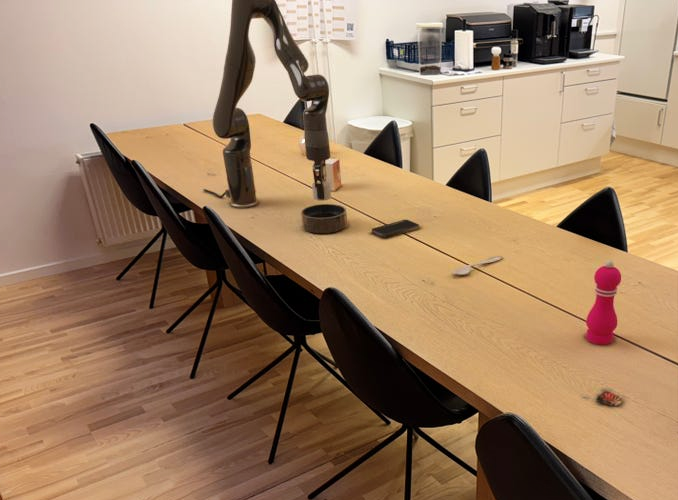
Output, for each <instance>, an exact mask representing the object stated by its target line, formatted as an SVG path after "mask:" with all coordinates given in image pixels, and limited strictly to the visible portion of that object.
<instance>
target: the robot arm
mask: <svg viewBox="0 0 678 500" xmlns="http://www.w3.org/2000/svg"><path fill="white" fill-rule="evenodd" d="M230 10H231V11H230V25H229V26H230V27H229V35H228V43H227V49H226V54H225V57H224V58H225V59H224V65H223V71H222V79H221V84H220V88H219V94H218V97H217V101H216V104H215V108H214V111H213V114H212V128H213V129H212V130H213V131H214V133H215V135H216V136H217V137H218V138H220V139H222V140H228V139H230V140H229V142H228V143H227V144H226V146H224V148H223V149H222V157H223V162H224V169H225V174H226V175H225V176H226V183H227V189H225V190H224V191H225V192H223V193H222V194H221V195H220V194H218V193H217V192H215V191H212V190H210V189H206V188H203V190H202V191H204V192H206V193H209V194H212V195H214V196H215V197H217V198H220V199H221V198H224V197H226V198H228V199H229V200H230V206H231V207H233V208H237V209H238V208H239V209H245V208H251V207H254V206H256V205H258V198H257V189H256V185H255V184H256V183H255V178H254V177H255V176H254V170H253V164H252V157H251V156H252V155H251V149H252V140H251V130H250V122H249V118H248V116H247V113H246V112H245V111H244V110H243V109H242V108H240V107H237V106H238V103H239V102H240V100H241V99H242V97H243V96H244V95H245V93H246V91H248V89H249V87H250V85H251V84H252V81H253V78H254V74H255V70H256V69H255V68H256V64H257V61H256V55H255V51H254V48H253V46H252V44H251V41H250V36H249V35H250V27H251V23H252V20H253V19H254V20H255V19H263V20H264V21H265V22H266V24H267V25H268V27H270V30H271V32H272V39H273V40H272V41H273V42H272V43H273V49H274V52H275V55H276V56H277V58H278V60H279V61H280V63H281V65H282V66H283V68H284V69H285V70H286V72H287V74H288V78H289V80H290V84H291V86H292V89H293V93H294V94H295V96H296V97H297V98H298V99H299V100H300V101H302V102H307V103H308V102H311V103H310V105H309V107H307V108H306V109H304V110H303V111H302V120H303V129H304V131H303V132H304V134H303V135H304V138H305V148H306V154H305V156H306V159H307V160H308V161H311V162H313V165H312V173H313V180H314V182H313V183H315V188H317V197H318V199H324V198H325V195H324V182H326V177H327V175H326V174H327V172H326V163H325V162H326V160H328V159H329V158H330V159H331V151H330V150H331V148H330V137H329V131H328V124H327V123H328V122H327V112H328V111H327V110H328V103H329V98H330V86H329V82H328V80H327V79H326V77H325V76H324V75H322V74H317V73H316V74H309V75H305V73H306V72H307V71H308V69H309V66H310V65H309V61H308V59H307V57H306V56H305V54H304V53H303V52H302V50H301V48H300V46H299V45H298V44H297V42H296V40H295V39H294V37H293V36H292V34H291V32H290V30H289V27H288V25H287V23H286V21H285V19H284V16H283V14H282V12H281V10H280V8H279V5H278V3H277V2H276V0H231V9H230ZM318 182H321V183H320V184H318Z"/></svg>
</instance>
